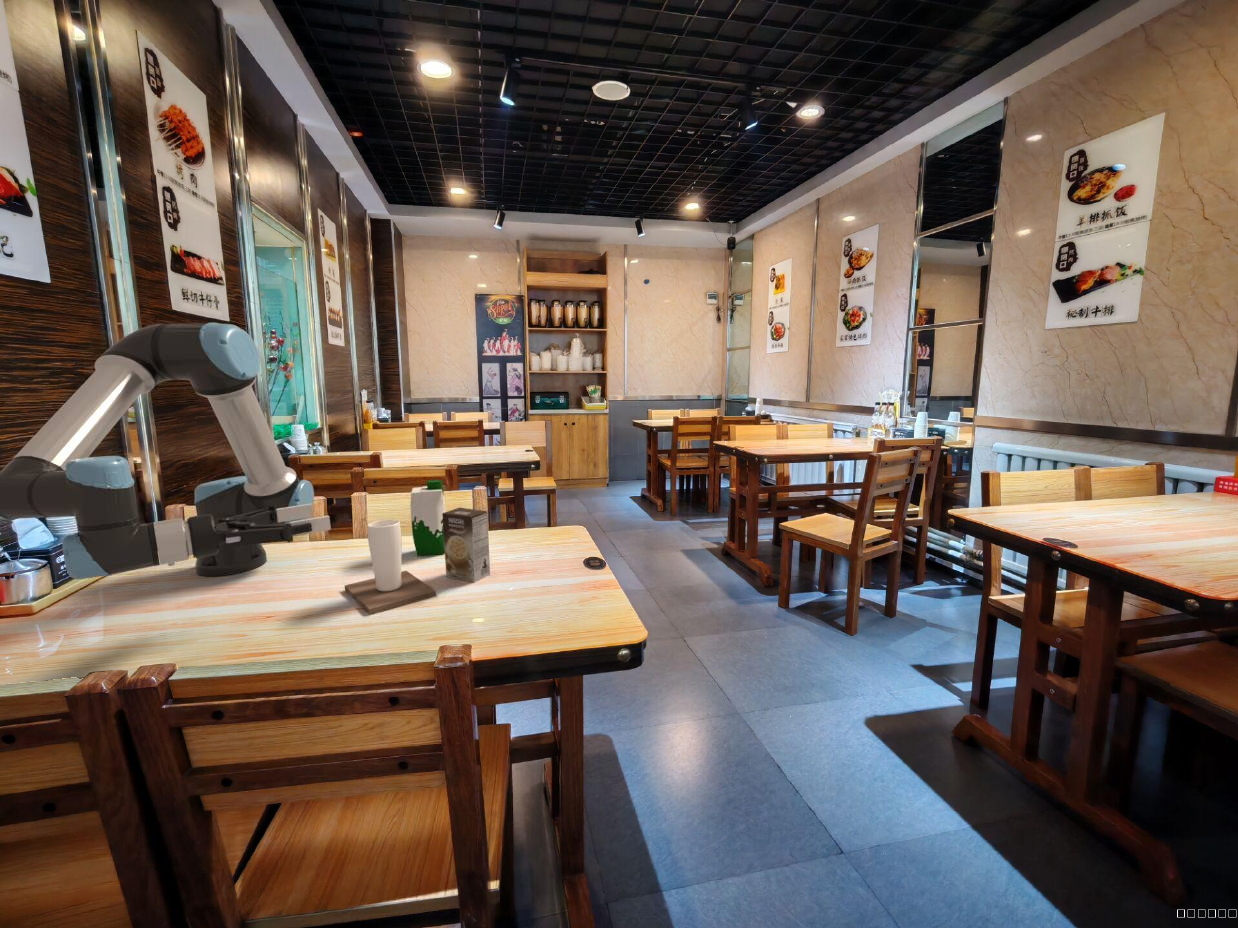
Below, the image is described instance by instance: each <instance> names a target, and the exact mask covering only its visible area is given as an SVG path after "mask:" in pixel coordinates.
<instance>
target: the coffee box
mask: <svg viewBox="0 0 1238 928" xmlns="http://www.w3.org/2000/svg"><path fill="white" fill-rule="evenodd" d="M442 516H443V532H444V548H445V554H444V559H445V560H444V561H445V563H444V564H445V577H447V578H451V579H456V580H461V581H467V582H473V583H475V582H478V581H480V580H481V579H483V578H485V577H487V576H489V575H491V560H490V559H491V558H490V541H489V521H488V520H489V519H488V518H489V517H488V510H480V509H473V508H468V507H467V508H464V507H457V508H454V509H452V510H448V511H446V512H445V513H442Z"/></svg>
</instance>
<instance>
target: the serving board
mask: <svg viewBox="0 0 1238 928" xmlns="http://www.w3.org/2000/svg"><path fill="white" fill-rule="evenodd" d="M401 578H402V585H401V587H400V588H398V589H396V590H393V591H388V592H382V591H378V590H377V588H376V581H375V577H374V578H371V579H370V578H369V579H366V580H361V581H357V582H354V583H349V584H348V583H347V584H345V585H344V591H345V593H347V594H348V595H349V596H350V597H351V598H352V599H353V600H355V602H356V603H357V604H358V605H359V606H361V607H362V609H363V610H365V612H367V614H369V615H373V614H374V615H375V614H378V613H381V612H382V613H383V612H385V611H388V610H392V609H395V608H399V607H403V606H406V605H409V604H413V603H416V602H420V601H424V600H427V599H431V598H435V597H437V590H436V589H434V588H433V587H432V586H430V585H428V584H427V583H425V582H424V581H422V580H421V579H419V578H418V577H417V576H415V575H413V574H412V573H411V572H409V571H408V570H403V571H402V570H401Z"/></svg>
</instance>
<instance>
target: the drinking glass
mask: <svg viewBox="0 0 1238 928" xmlns="http://www.w3.org/2000/svg"><path fill="white" fill-rule="evenodd" d="M366 527H367V541H368V548H369V552H370V554H369V555H370V558H371V563H372V568H373V575H374V578H375V581H376V588H377V590H378V591H382V592H388V591H393V590H396V589H398V588H400V587H401V585H402V578H401V572H402V554H403V552H402V551H403V550H402V549H403V548H402V545H403V543H402V539H403V538H402V529H401V522H400V520H397V519H382V520H380V519H379V520H375V521H373V522H369V523H368V524H367V526H366Z"/></svg>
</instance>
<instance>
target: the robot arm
mask: <svg viewBox="0 0 1238 928" xmlns="http://www.w3.org/2000/svg"><path fill="white" fill-rule="evenodd" d="M259 353H260V352H259V350H258V348H257V345H256V344H255V341H254V340H253V338H252V337H251V336H250V335H249V333H247V331H245V330H244V329H242V328H241V327H238V326H237V325H235V324H230V323H219V322H208V323H156V324H150V325H146V326H145V327H141V328H139V329H137V330H135V331H133V332H131V333H128V334H127V335H126V336H123V337H122V338H121V339H119V340H118V341H116V342H115V343H113V344H112V345H111V346H110V347H108V349H106V350H105V351H104V352H103V353H102V354H101V355H100V356H99V357H98V358H97V359H96V361H95V362H94V369H95V371H94V372H93V373H92V374H91V375H90V376H89V377H88V379H86V381H85V382H84V383H83V384H82V385H81V386H80V387H79V388H78V389H77V390H76V391H75V392H74V393H73V394H72V395H71V396H70V398H69V399H68V400H67V401H66V402H65V403H64V404H62V406H61V407H60V408H59V409H58V410H57V411H56V412H55V413H54V414H53V415H52V416H51V418H49V420H48V421H47V422H45V424H44V425H43V426H41V428H40V429H39V430H38V431H37V432H36V433H35V435H33V437H31V439H30V440H29V441H28V442H27V443H26V444H25V445H24V446H22V448H21V449H20V450H19V451H18V452H17V453H16V454H15V455H14V457H13V458H12V459H11V460H10V461H9V462H8V463H7V464H6V465H5V466H4V467H3V468H2V469H1V470H0V520H6V521H7V520H9V521H10V520H17V519H34V518H36V519H38V518H39V519H40V518H70V517H74V519H75V522H76V527H77V532H74V533H73V534H68V535H66V536H64V537H63V539H62V553H63V559H64V561H63V562H64V565H65V569H66V572H67V574H68V576H69V577H70V578H72V579H74V580H85V579H92V578H96V577H97V578H98V577H110V576H113V575H117V574H121V573H126V572H127V573H128V572H131V571H136V570H141V569H147V568H152V567H156V566H160V565H161V566H162V565H166V564H167V566H168V567H172V566H175V564H176V563H177V562H183V561H188V560H189V559H190V557H191V556H193V558H194V559H196V560H195V572H196V575H199V576H203V577H218V576H227V575H234V574H239V573H243V572H246V571H250V570H253V569H256V568H259V567H261V566H263V565H265V564H266V563H267V562H268V557H267V552H266V550H265V548H264V546H263V545H262V544H270V543H283V542H287V543H292V542H294V537H300V536H305V535H310V534H316V533H321V532H325V531H331V528H332V527H331V519H330V516H329V515H323V516H319V517H314V516H315V515H314V514H315V513H314V502H315V492H314V487H313V484H312V483H311V482H310V481H309V480H306V479H300V478H298V475H297V473H296V471H295V469H293V468H291V467H288V466H286V464H285V461H284V459H283V457H282V455H281V452H280V450H279V447H278V445H277V443H276V441H275V439H274V436H273V433H272V431H271V429H270V426H269V424H268V422H267V420H266V417H265V415H264V413H263V410H262V407H261V405H260V403H259V401H258V399H257V397H256V394H255V392H254V389H253V387H252V386H253V385H254V384H255V382H256V381H257V377H256V376H257V374H258V373H259V371H260V368H261V361H259V359H260V357H261V356H260V354H259ZM167 381H189V382H190V384H191V386H192V388H193V391H194V392H195V394H197V395H198V396H201V397H204V398H207V399H208V402H209V403H210V405H211V408H212V410H213V413H214V415H215V416H216V418H217V421H218V422H219V425H220V426H221V428H222V430H223V432H224V434H225V436H226V438H227V440H228V442H229V444H230V447H231V450H232V451H233V452H234V455H235V457H236V459H237V461H238V463H239V465H240V467H241V469H242V472H243V473H244V475H241V476H240V475H239V476H233V477H227V478H222V479H217V480H213V481H208V482H205V483H200V484H198V485H197V486H196V487H195V489H194V505H195V511H196V515H193V516H189V518H187V520H184V519H183V518H181V517H179V518H171V519H166V520H165V519H164V520H160V521H153V522H149V523H148V522H147V523H141V522H140V516H139V509H138V503H137V497H136V489H135V479H134V478H133V476H132V473H131V468H130V464H129V461H128V460H127V458H125V457H122V456H118V455H105V456H104V455H103V456H92V457H91V455H92V453H93V452H94V451H95V450H96V448H97V447H98V446H99V445H100V444H101V443H102V441H103V440H104V439H105V437H106V436H107V435H108V434H109V433H110V432H111V430H112V429H113V427H114V426H116V424H117V423H118V422H119V421H120V419H121V418H122V417H123V416H124V415H125V413H126V412H127V411H128V410H129V409H130V407H131V406H132V405H133V404H134V403H135V402H136V400H137V399H138V398H139V396H140V395H144V394H148V393H150V392H151V391H152V390H153V389H154V388H155V387H156V385H158V384H160V383H162V382H163V383H164V382H167Z"/></svg>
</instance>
